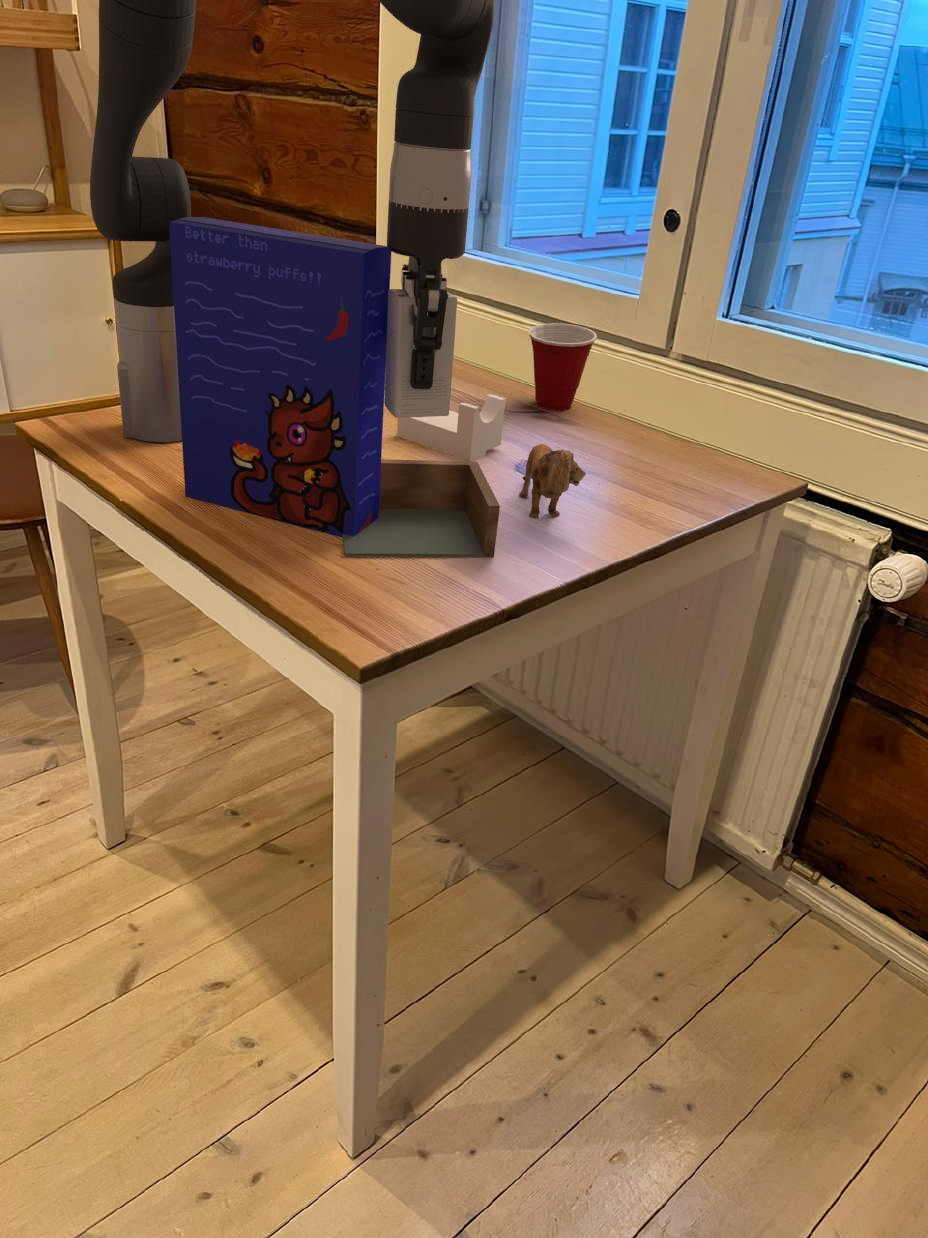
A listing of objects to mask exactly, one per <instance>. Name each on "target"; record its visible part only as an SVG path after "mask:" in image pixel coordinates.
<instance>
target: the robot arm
mask: <svg viewBox="0 0 928 1238" xmlns="http://www.w3.org/2000/svg"><path fill="white" fill-rule="evenodd" d="M378 2H379V3H380V4H381V5H382V6H383V8H385V10H387V12H388V13H390V14H391V15H392V16H393V18H395V19H396V20H397V21H399V23H400V24H402V25H404V27H406V28H407V29H409V30H411V31H413V32H415V33H417V34H419V35H420V36H419V38H420V39H419V43H418V48H417V55H416V60H415V63H414V65H413V68H411V69H409V70H408V71H406V72H405V73H404V74H402V75H401V77H400V79H399V81H398V85H397V91H396V100H395V101H396V102H395V114H394V115H395V117H394V119H395V120H394V139H393V140H394V142H393V151H392V156H391V163H390V171H389V184H388V185H389V186H388V187H389V188H388V189H389V190H388V203H387V204H388V205H387V209H388V210H387V229H386V231H387V232H386V246H387V247H388V249H389V250H390V251H391V253H395V254H396V255H400V256H404V257H409V258H408V262H407V264H405V263H404V264H402V267H401V275H400V276H401V277H400V283H401V289H405V294H407V295H408V296H409V297H414V296H415V302H416V306H417V308H418V311H417V316H416V315H415V314H414V304H412V305H410V306H409V309H408V323H409V324H410V325H411V326H412V341H411V343H410V346H411V348H412V356H411V372H410V385H411V387H412V388H414V389H430V388H431V387H432V385H433V372H434V359H435V352H437V350H440V349H441V346H442V334H443V326H444V318H445V310H446V303H447V299H448V294H447V292H448V289H447V285H448V283H447V281H448V280H447V277H443V273H442V268H443V267H442V261H444V260H448V259H449V260H454V259H458V258H461V257H462V256H463V255H464V254H465V252H466V242H467V231H468V230H467V229H468V217H469V209H470V197H471V196H470V194H471V183H472V168H471V167H472V164H471V154H472V153H471V151H472V150H471V148H472V140H473V139H472V138H473V128H474V127H473V126H474V115H475V114H474V113H475V98H476V91H477V89H478V85H479V82H480V80H481V79H480V78H481V75H482V73H483V68H484V64H485V61H486V57H487V52H488V49H489V48H488V47H489V45H490V40H491V36H492V32H493V27H494V23H495V22H494V21H495V13H496V12H495V11H496V0H378ZM196 9H197V0H98V91H97V92H98V93H97V107H96V118H95V126H94V127H95V128H94V136H93V144H92V154H91V155H92V156H91V165H90V177H89V199H90V201H89V202H90V209H91V216H92V219H93V223H94V224H95V227H96V229H97V231H98V232H99V233H100V235H102V237H104V238H106V239H107V240H109V241H111V240H112V241H115V242H116V241H118V242H155V244H154V247H153V249H152V251H151V252H150V253H149V254H148V255H147V256H146V257H145V258H143V259H142V260H140V261H138V262H137V263H135V264H132V265H129V266H128V267H124V268H122V269H120V270H119V271H117V272H116V273H115V274H114V276H113V277H112V291H113V302H114V313H115V322H116V323H115V324H116V334H117V345H118V346H117V347H118V355H119V361H118V362H117V365H116V369H117V380H118V390H119V391H118V393H119V402H120V411H121V422H122V423H121V424H122V434H123V437H124V438H132V439H137V440H139V441H145V442H151V443H172V442H179V441H182V432H181V415H180V398H179V382H178V365H177V348H176V331H175V314H174V297H173V280H172V263H171V246H170V229H169V222H171V221H175V220H178V219H180V218H185V217H192V202H191V192H190V187H189V186H190V185H189V181H188V177H187V175H186V173H185V169H184V167H182V165H181V164H180V163H179V162H178V161H177V160H175V159H172V158H167V157H155V156H154V157H152V156H151V157H150V156H149V157H148V156H134V155H133V154H134V151H135V150H134V149H135V146H136V145H137V144H136V143H137V140H138V138H139V135H140V132H141V131H142V129H143V127H144V125H145V123H146V121H147V120H148V119H149V117H150V116H151V114H152V113H153V112H154V111H155V109H156V108H157V107H158V106H159V105H160V103H161V102H162V101H163V100H164V99H165V97H166V95H167V94H168V93H169V92H170V90H171V89H172V88H173V87H174V85H175V84H176V83H177V81H178V80H179V78H180V77H181V75H182V74H183V73H184V71H185V69H186V67H187V65H188V62H189V60H190V57H191V55H192V54H191V53H192V50H193V40H194V31H195V22H196V21H195V20H196ZM425 327H431V329H432V330H431V336H422V330H423V328H425Z"/></svg>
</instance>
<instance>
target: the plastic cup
mask: <svg viewBox="0 0 928 1238" xmlns="http://www.w3.org/2000/svg"><path fill="white" fill-rule="evenodd" d="M597 335H598V334H597V333H596V332H595V331H594V330H592V329H589V328H588V327H584V326H580V325H577V324H576V325H575V324H569V323H552V322H551V323H542V324H537V325H533V326H532V327H529V329H528V336H529V337H530V342H531V347H532V352H533V353H532V355H533V375H534V376H533V377H534V378H533V381H534V385H535V386H534V391H535V393H534V395H535V396H534V397H535V403H536V406H538V407H540V408H542V409H545V410H551V411H558V412H559V411H567V410H569V409H571V407H572V405H573V403H574V401H575V400H574V399H575V396H576V393H577V390H578V388H579V386H580V381H581V379H582V377H583V372H584V370H585V368H586V367H585V366H586V363H587V360H588V358H589V355H590V352H591V350H592V348H593V347H592V346H593V345H594V344H595V341H596V340H597V338H598V336H597Z"/></svg>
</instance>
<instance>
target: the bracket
mask: <svg viewBox="0 0 928 1238" xmlns="http://www.w3.org/2000/svg"><path fill="white" fill-rule="evenodd" d="M506 400H507V399H506V398H505V397H503V396H502V397H501V396H497V395H495V394H491V393H489V394H486V396H485V401H484V404H483V407H482V408H481V410H480V406H477V405H473V404H470V403H467V402H461V403H459V404H458V405H459V406H458V412H456V411H453V410H451V409H449V415H448V416H431V417H402V418H397V431H396V436H397V437H399V438H402V439H405V440H408V441H410V442H413V443H416V444H419V443H420V444H419V445H422V444H423V445H422V446H425V447H428V448H431V449H433V450H436V451H439V452H442V453H445V454H448V455H451V456H454V457H456V458H459V459H462V460H465V461H474V460H478V459H480V458H482V457H485V456H486V452H487V451H488V450H491V449H494V448H497V447H500V446H501V445H502V436H503V435H502V434H503V426H504V417H505V410H506V409H505V408H506V402H507V401H506Z"/></svg>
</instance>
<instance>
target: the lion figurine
mask: <svg viewBox="0 0 928 1238" xmlns="http://www.w3.org/2000/svg"><path fill="white" fill-rule="evenodd" d="M527 457H528V458H527V460H526V467H525V475H524V476H523V477H522V480H523V481H524V482H523V486H522V489H521V491H520V492H519V494H518V496H519V498H524V499H525V498H528V497H529V490H530V489H529V488H530V487H531V479H532V489H531V507H530V508H531V509H530V512H529V514H528V516H529V518H532V519H539V518H540V514H541V510H540V501H541V500H540V499H541V497H542V496H543V497H544V498H545V499H550V502H549V504H548V507H547V513H548V514H549V516H550V517H551V518H552V517H553V518H556V517H559V516H560V514H561V513H560V511H558V510H557V505H558V502H559V499H560V498H561V496H562V495H563V493H566V492H567V491H568V490H569V488H570V484H571V485H573V486H575V487H578V486H579V484H580V482H581V481H582V480H583V479H584V477H585V476H586V474H587V472H586V471H584V470H583V469H582V468H581V467H580V466H579V464H578V463H577V462H576V461H575V460H574V457H575V456H574V452H572V451H570V450H565V449H557V450H553V448H551V447H550V446H548V445H546V444H544V443H540V444H536V445H535V446H533V447H532V449H531V451H530V452H529V453H528V456H527Z"/></svg>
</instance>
